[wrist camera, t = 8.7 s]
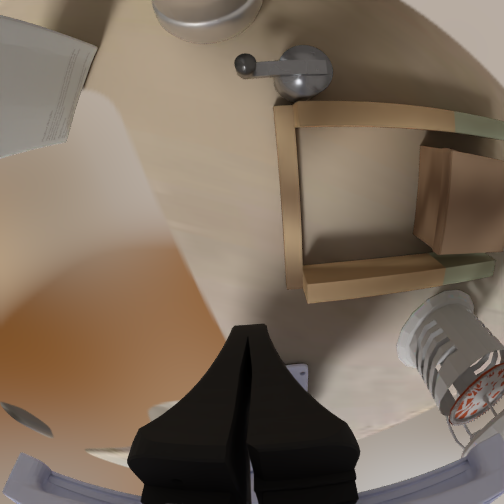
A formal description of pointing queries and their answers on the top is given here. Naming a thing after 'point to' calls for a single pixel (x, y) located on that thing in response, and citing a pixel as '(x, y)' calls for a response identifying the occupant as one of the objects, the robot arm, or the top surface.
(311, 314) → the top surface
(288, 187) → the bay
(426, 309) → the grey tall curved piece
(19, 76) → the skincare box
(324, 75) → the crank handle cylinder
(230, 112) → the top surface
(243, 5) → the silver metal bottle
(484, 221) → the box
